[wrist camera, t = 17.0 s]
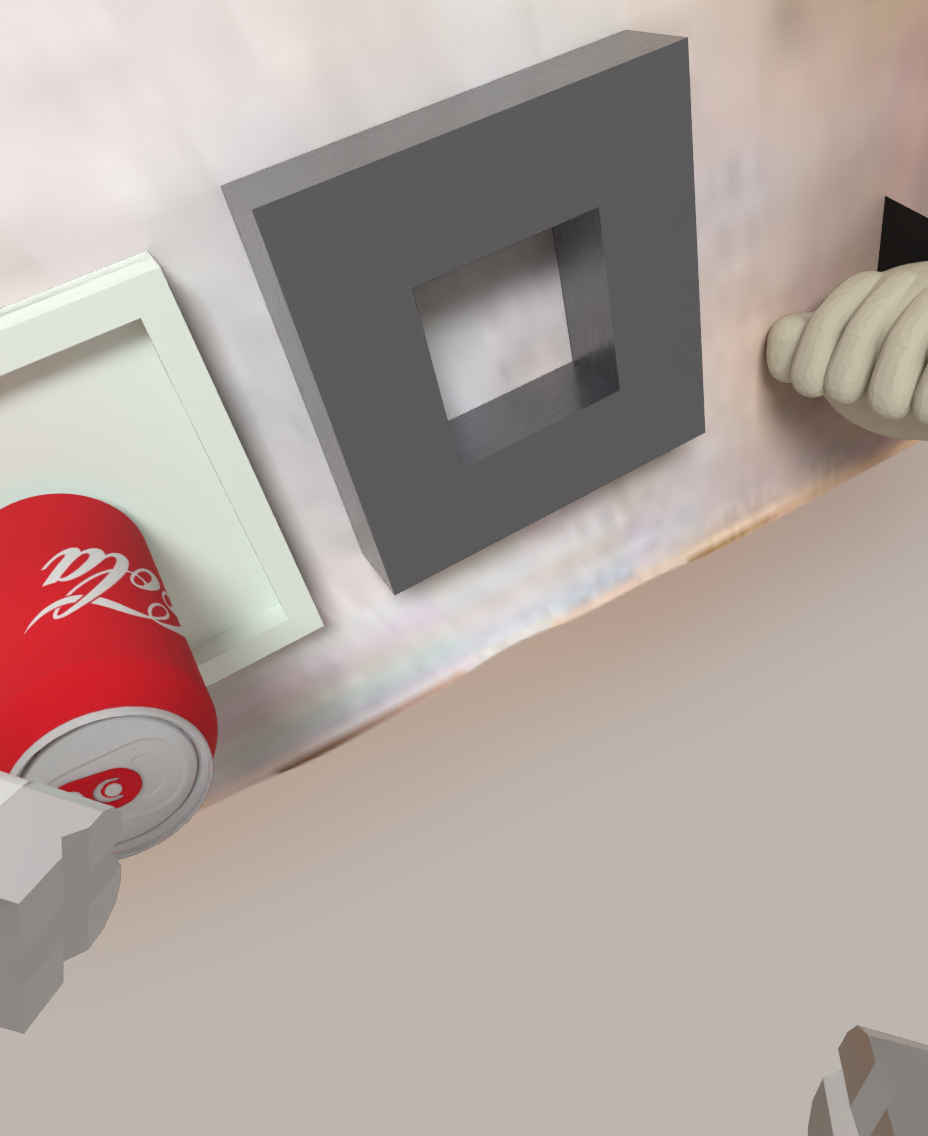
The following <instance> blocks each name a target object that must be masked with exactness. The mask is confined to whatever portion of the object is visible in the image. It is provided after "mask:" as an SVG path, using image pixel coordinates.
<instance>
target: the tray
mask: <svg viewBox="0 0 928 1136" xmlns="http://www.w3.org/2000/svg"><path fill="white" fill-rule="evenodd" d="M54 493H65V494H77V495H83V496H87V497H91V498H94V499H98V500H101V501H103V502H105V503H107V504H110V505H111V506H113V507H115V508H117V509H118V510H120V511H121V512H122V513H124V514H125V515H126V516H128V517H129V518H130V519H131V520H132V521H133V522H134V524H135V525H136V526H137V527H138V529H139V530H140V531H141V533H142V535H143V537H144V539H145V541H146V543H147V546H148V548H149V550H150V553H151V555H152V558H153V560H154V562H155V565H156V567H157V570H158V572H159V575H160V577H161V579H162V582H163V584H164V587H165V589H166V591H167V594H168V596H169V599H170V601H171V603H172V606H173V608H174V611H175V613H176V616H177V618H178V620H179V623H180V625H181V628H182V630H183V632H184V635H185V637H186V640H187V642H188V644H189V647H190V649H191V652H192V654H193V657H194V659H195V661H196V664H197V666H198V669H199V671H200V673H201V676H202V678H203V681H204V683H205V685H206V687H208V686H210V685H212V684H214V683H216V682H218V681H220V680H222V679H224V678H225V677H227V676H229V675H231V674H233V673H235V672H237V671H239V670H241V669H243V668H245V667H247V666H248V665H250V664H252V663H254V662H256V661H258V660H260V659H262V658H264V657H266V656H268V655H269V654H271V653H273V652H275V651H277V650H279V649H281V648H283V647H285V646H287V645H289V644H290V643H292V642H294V641H296V640H298V639H300V638H302V637H304V636H306V635H308V634H310V633H312V632H313V631H315V630H317V629H319V628H321V627H323V626H324V624H323V622H322V620H321V617H320V615H319V613H318V611H317V609H316V607H315V604H314V602H313V600H312V598H311V596H310V593H309V591H308V589H307V587H306V585H305V583H304V580H303V578H302V576H301V574H300V572H299V569H298V567H297V565H296V563H295V561H294V558H293V556H292V554H291V552H290V550H289V548H288V545H287V543H286V541H285V539H284V537H283V534H282V532H281V530H280V528H279V526H278V524H277V521H276V519H275V517H274V515H273V513H272V510H271V508H270V506H269V504H268V502H267V499H266V497H265V495H264V493H263V491H262V489H261V486H260V484H259V482H258V480H257V478H256V475H255V473H254V471H253V469H252V467H251V465H250V462H249V460H248V458H247V456H246V454H245V451H244V449H243V447H242V445H241V443H240V440H239V438H238V436H237V434H236V432H235V430H234V427H233V425H232V423H231V421H230V419H229V416H228V414H227V412H226V410H225V408H224V406H223V403H222V401H221V399H220V397H219V395H218V392H217V390H216V388H215V386H214V384H213V382H212V379H211V377H210V375H209V373H208V371H207V368H206V366H205V364H204V362H203V360H202V357H201V355H200V353H199V351H198V349H197V347H196V344H195V342H194V340H193V338H192V336H191V333H190V331H189V329H188V327H187V325H186V323H185V320H184V318H183V316H182V314H181V312H180V309H179V307H178V305H177V303H176V301H175V298H174V296H173V294H172V292H171V290H170V288H169V285H168V283H167V281H166V279H165V277H164V274H163V272H162V270H161V268H160V266H159V265H158V264H157V263H156V261H155V260H154V259H153V258H152V256H151V255H150V254H149V253H148V251H144V252H142V253H139V254H137V255H134V256H132V257H129V258H127V259H124V260H122V261H119V262H116V263H114V264H111V265H109V266H106V267H104V268H101V269H99V270H96V271H94V272H91V273H89V274H86V275H84V276H81V277H79V278H76V279H73V280H71V281H68V282H66V283H63V284H61V285H58V286H56V287H53V288H51V289H48V290H46V291H43V292H41V293H38V294H35V295H33V296H30V297H28V298H25V299H23V300H20V301H18V302H15V303H13V304H10V305H8V306H5V307H3V308H0V509H1V508H3V507H5V506H7V505H9V504H12V503H14V502H16V501H19V500H22V499H25V498H29V497H32V496H38V495H43V494H54Z"/></svg>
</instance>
